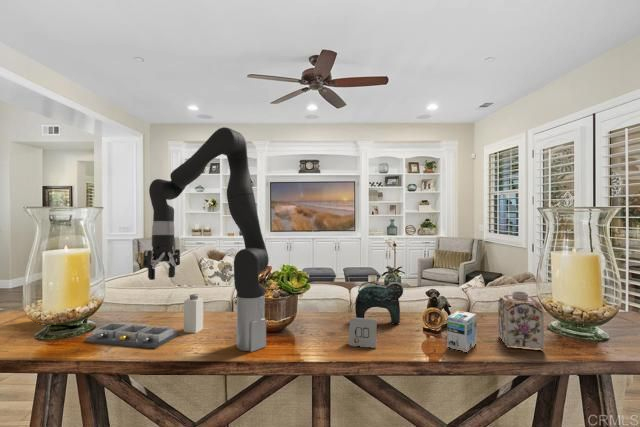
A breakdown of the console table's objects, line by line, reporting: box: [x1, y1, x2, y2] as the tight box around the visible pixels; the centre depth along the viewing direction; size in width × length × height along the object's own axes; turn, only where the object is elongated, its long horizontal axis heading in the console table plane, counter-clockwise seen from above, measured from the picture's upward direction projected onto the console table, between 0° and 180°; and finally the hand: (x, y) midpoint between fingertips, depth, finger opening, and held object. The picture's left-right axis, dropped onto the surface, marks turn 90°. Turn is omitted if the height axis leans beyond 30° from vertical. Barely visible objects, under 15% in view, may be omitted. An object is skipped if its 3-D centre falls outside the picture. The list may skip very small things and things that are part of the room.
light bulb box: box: [446, 310, 478, 351], centre depth 119 cm, size 11×7×11 cm, turn 139°
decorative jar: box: [497, 290, 545, 350], centre depth 122 cm, size 12×12×18 cm
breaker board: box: [85, 321, 180, 350], centre depth 124 cm, size 27×13×4 cm, turn 78°
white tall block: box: [183, 293, 204, 334], centre depth 133 cm, size 5×5×14 cm
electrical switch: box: [348, 317, 378, 349], centre depth 120 cm, size 9×5×9 cm, turn 78°
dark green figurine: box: [354, 273, 404, 324], centre depth 145 cm, size 20×6×20 cm, turn 82°
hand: (161, 278), depth 127 cm, fingers open, 8 cm apart
